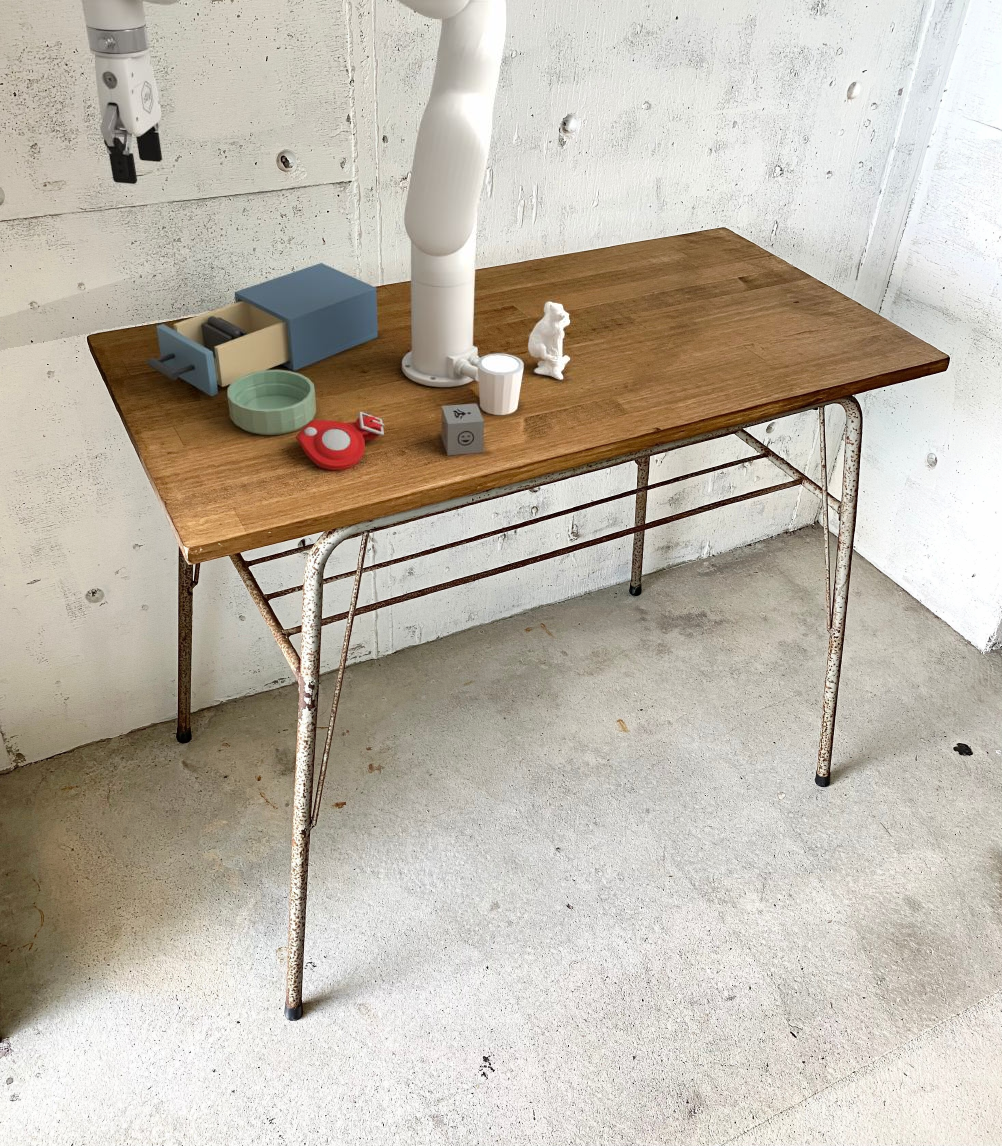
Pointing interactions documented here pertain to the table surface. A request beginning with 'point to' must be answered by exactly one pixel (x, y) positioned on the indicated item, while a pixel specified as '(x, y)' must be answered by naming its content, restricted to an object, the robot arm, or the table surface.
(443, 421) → the dice cube
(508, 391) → the white faceted cup
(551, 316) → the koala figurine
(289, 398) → the bowl
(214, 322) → the grey roller rack
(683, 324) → the table surface
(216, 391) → the drawer
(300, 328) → the cabinet
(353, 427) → the tracker holder
